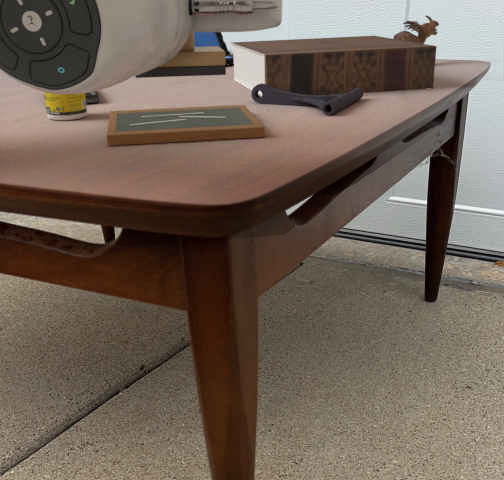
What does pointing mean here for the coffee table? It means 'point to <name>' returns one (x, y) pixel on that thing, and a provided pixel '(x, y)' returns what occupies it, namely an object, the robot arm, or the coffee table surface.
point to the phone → (92, 97)
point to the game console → (213, 43)
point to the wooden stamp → (191, 62)
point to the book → (335, 64)
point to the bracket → (305, 98)
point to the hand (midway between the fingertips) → (177, 1)
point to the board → (182, 125)
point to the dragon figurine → (418, 31)
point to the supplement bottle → (65, 106)
